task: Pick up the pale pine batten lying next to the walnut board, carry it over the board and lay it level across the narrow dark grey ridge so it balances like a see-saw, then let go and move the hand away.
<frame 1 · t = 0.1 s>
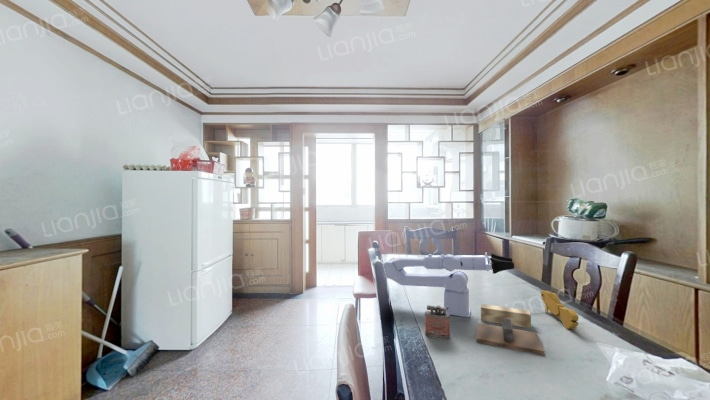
hand: (513, 263, 102), 22 cm above the table, tool horizontal, fingers open, 7 cm apart
ridge stand: (507, 339, 89), on the table
decorative fish: (557, 320, 103), on the table
pine batten: (504, 322, 101), on the table
lighter: (437, 336, 92), on the table
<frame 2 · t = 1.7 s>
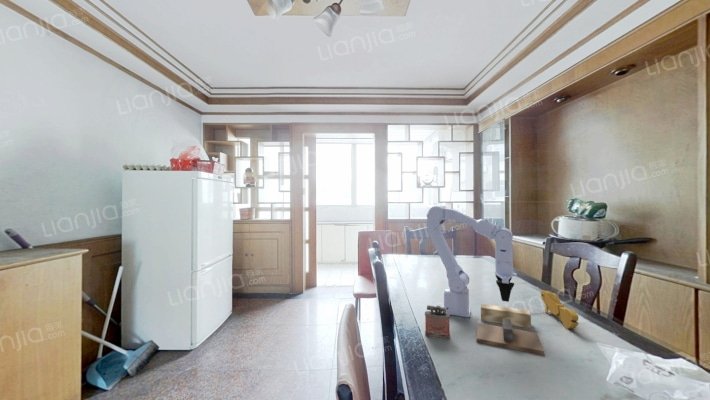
hand: (504, 297, 101), 9 cm above the table, tool pointing down, fingers open, 7 cm apart
nothing on the table moved.
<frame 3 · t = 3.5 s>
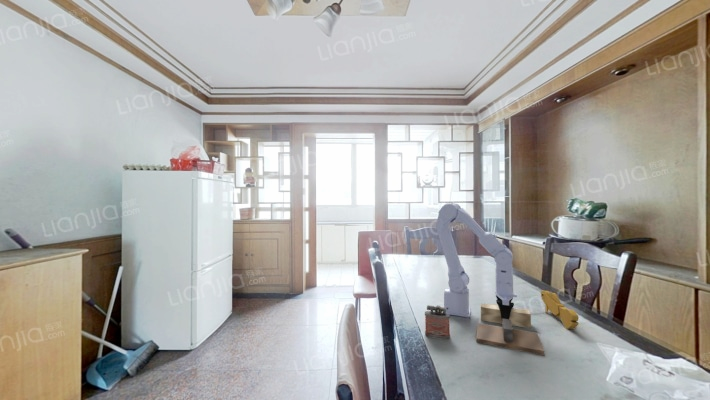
hand: (504, 317, 101), 1 cm above the table, tool pointing down, fingers closed on pine batten, 4 cm apart
pine batten: (504, 321, 101), on the table, touching gripper
everything else where it was.
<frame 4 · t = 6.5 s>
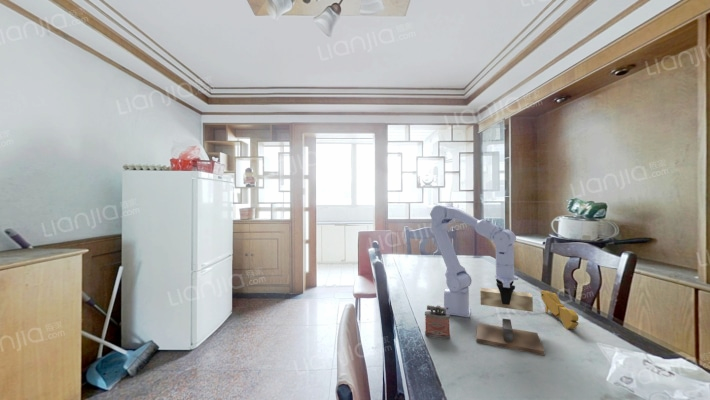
hand: (505, 301, 97), 9 cm above the table, tool pointing down, fingers closed on pine batten, 4 cm apart
pine batten: (505, 306, 97), point 7 cm above the table, touching gripper
everything else where it was.
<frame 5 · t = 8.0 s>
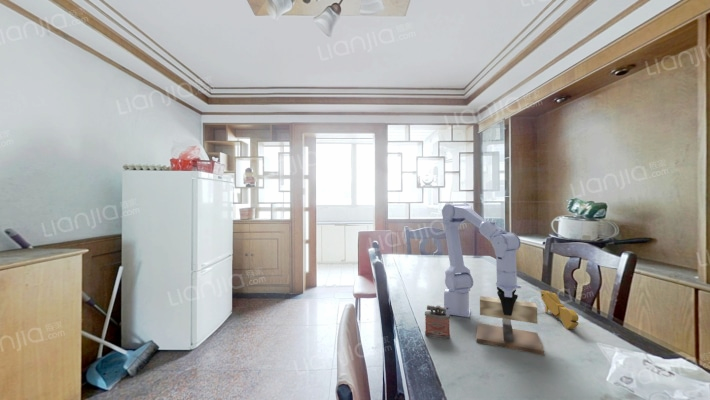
hand: (507, 312, 89), 9 cm above the table, tool pointing down, fingers closed on pine batten, 4 cm apart
pine batten: (507, 316, 89), point 7 cm above the table, touching gripper
everything else where it was.
when the fingers open (7 cm above the table, at t = 9.5 s): pine batten stays where it is, resting on ridge stand.
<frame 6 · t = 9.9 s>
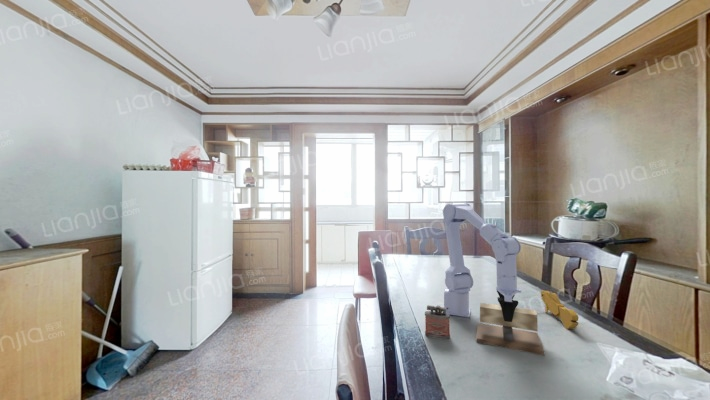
hand: (507, 316, 89), 7 cm above the table, tool pointing down, fingers open, 7 cm apart
pine batten: (507, 323, 89), point 5 cm above the table, touching ridge stand
everything else where it was.
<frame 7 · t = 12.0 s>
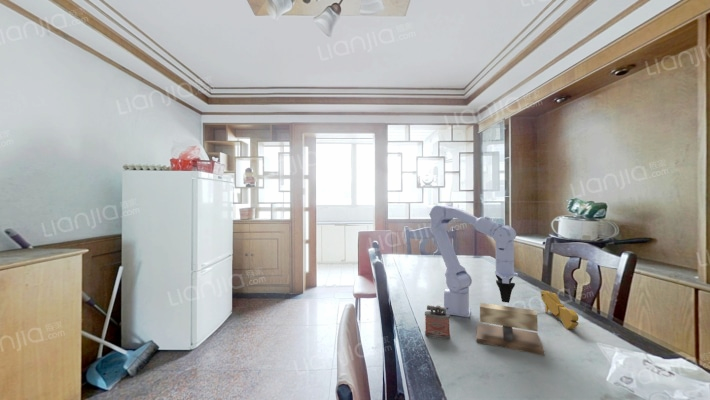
hand: (505, 298, 97), 10 cm above the table, tool pointing down, fingers open, 7 cm apart
nothing on the table moved.
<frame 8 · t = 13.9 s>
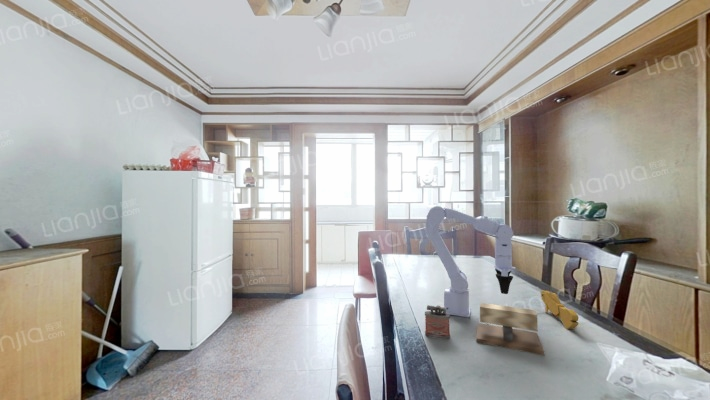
hand: (503, 290, 105), 10 cm above the table, tool pointing down, fingers open, 7 cm apart
nothing on the table moved.
at the end: pine batten inside the target area on the ridge stand (0.0 cm from its centre), point 5.0 cm above the ridge stand's base; pine batten tilted 0°; the gripper is holding nothing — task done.
